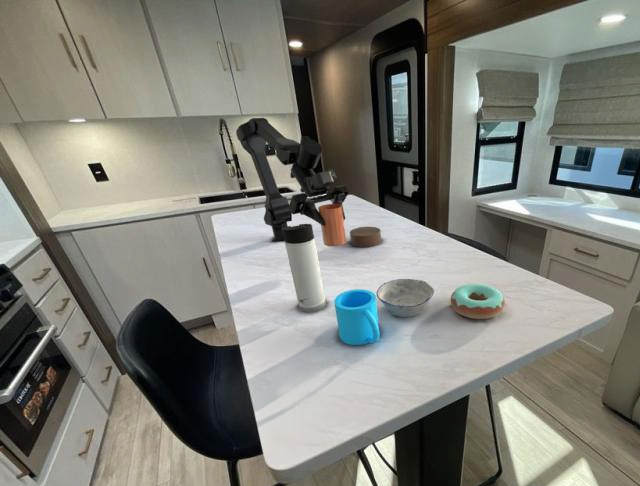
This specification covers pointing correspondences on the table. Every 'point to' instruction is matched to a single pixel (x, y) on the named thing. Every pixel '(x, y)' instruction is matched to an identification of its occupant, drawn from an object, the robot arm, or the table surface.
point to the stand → (365, 236)
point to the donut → (477, 301)
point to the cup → (332, 225)
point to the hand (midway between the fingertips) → (334, 222)
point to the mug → (357, 317)
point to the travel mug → (304, 266)
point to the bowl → (405, 296)
